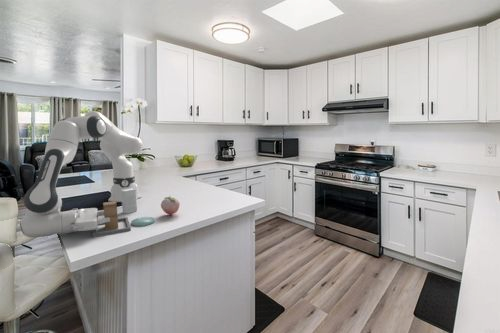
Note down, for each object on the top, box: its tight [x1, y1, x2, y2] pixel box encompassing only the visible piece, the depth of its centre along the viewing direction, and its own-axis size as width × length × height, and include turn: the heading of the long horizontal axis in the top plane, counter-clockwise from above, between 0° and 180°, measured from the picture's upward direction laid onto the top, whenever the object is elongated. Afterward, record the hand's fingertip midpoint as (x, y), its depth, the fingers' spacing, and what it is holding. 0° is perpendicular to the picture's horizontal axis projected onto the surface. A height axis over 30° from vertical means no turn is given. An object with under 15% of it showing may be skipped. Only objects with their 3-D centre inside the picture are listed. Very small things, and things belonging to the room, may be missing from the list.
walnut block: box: [102, 201, 119, 231], centre depth 116 cm, size 5×5×11 cm
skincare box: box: [121, 188, 138, 214], centre depth 138 cm, size 6×4×12 cm
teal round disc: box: [130, 216, 156, 227], centre depth 123 cm, size 10×10×1 cm
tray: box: [92, 216, 132, 238], centre depth 116 cm, size 16×14×1 cm
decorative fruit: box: [160, 196, 181, 216], centre depth 133 cm, size 9×8×10 cm
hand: (109, 215), depth 116 cm, fingers open, 8 cm apart
